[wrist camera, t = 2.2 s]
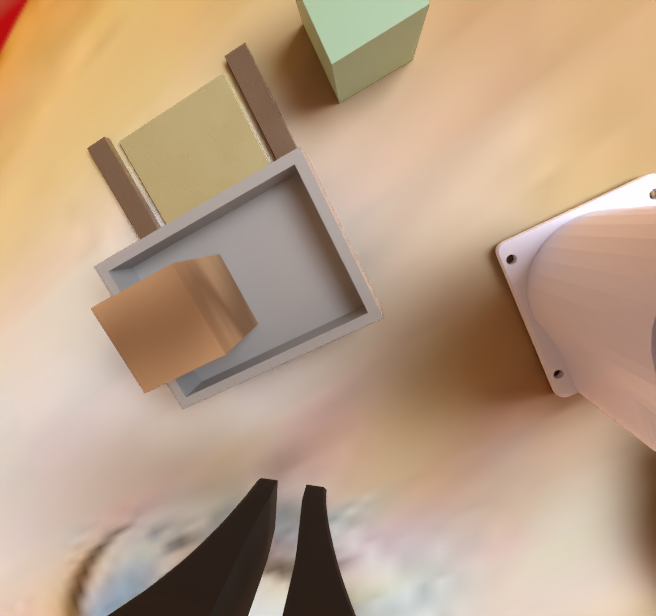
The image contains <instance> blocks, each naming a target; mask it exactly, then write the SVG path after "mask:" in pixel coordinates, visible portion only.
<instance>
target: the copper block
mask: <svg viewBox="0 0 656 616" xmlns="http://www.w3.org/2000/svg"><path fill="white" fill-rule="evenodd" d="M91 310H92V311H93V313H94V315H95V316H96V318H97V319H98V321H99V322H100V324H101V326H102V327H103V329H104V330H105V332H106V333H107V335H108V336H109V338H110V340H111V341H112V343H113V344H114V346H115V347H116V349H117V351H118V352H119V354H120V355H121V357H122V358H123V360H124V361H125V363H126V365H127V366H128V368H129V369H130V371H131V372H132V374H133V376H134V377H135V379H136V380H137V382H138V383H139V385H140V387H141V388H142V390H143V391H144V393H147V392H149V391H151V390H153V389H155V388H157V387H159V386H161V385H163V384H165V383H168V382H170V381H172V380H174V379H176V378H178V377H180V376H182V375H184V374H186V373H188V372H191V371H193V370H195V369H197V368H199V367H201V366H203V365H205V364H207V363H209V362H211V361H213V360H216V359H218V358H220V357H222V356H224V355H226V354H227V353H228V352H229V351H230V350H231V349H232V348H233V347H234V346H235V345H236V344H237V343H239V342H240V341H241V340H242V339H243V338H244V337H245V336H246V335H247V334H248V333H249V332H250V331H251V330H252V329H253V328H255V327H256V326H257V325H258V322H257V320H256V319H255V317H254V315H253V313H252V311H251V310H250V308H249V306H248V304H247V302H246V301H245V299H244V297H243V295H242V293H241V292H240V290H239V288H238V286H237V284H236V283H235V281H234V279H233V277H232V275H231V274H230V272H229V270H228V268H227V266H226V265H225V263H224V261H223V259H222V257H221V256H220V254H217V255H212V256H207V257H202V258H196V259H191V260H186V261H181V262H176V263H172V264H170V265H168V266H166V267H164V268H163V269H161V270H159V271H157V272H155V273H154V274H152V275H150V276H148V277H146V278H145V279H143V280H141V281H139V282H137V283H136V284H134V285H132V286H130V287H128V288H127V289H125V290H123V291H121V292H119V293H118V294H116V295H114V296H112V297H110V298H109V299H107V300H105V301H103V302H101V303H100V304H98V305H96V306H94V307H92V308H91Z"/></svg>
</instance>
